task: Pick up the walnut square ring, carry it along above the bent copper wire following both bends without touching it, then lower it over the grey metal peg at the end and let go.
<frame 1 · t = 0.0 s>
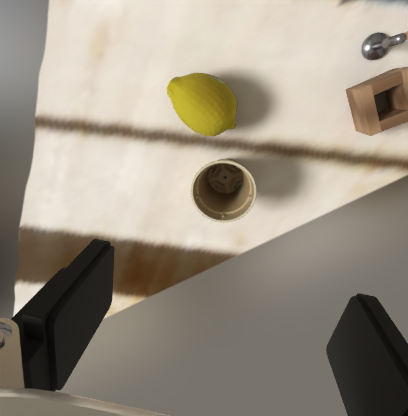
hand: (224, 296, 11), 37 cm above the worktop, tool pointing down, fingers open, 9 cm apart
ring: (373, 101, 41), on the worktop
lemon: (207, 102, 43), on the worktop
flower pot: (225, 175, 48), on the worktop
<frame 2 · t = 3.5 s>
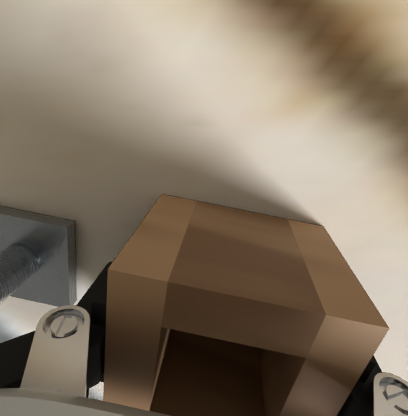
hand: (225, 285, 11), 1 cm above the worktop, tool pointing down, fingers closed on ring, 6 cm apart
ring: (225, 275, 12), on the worktop, touching gripper
peg stand: (29, 253, 13), on the worktop
when the fingers open (2 cm above the worktop, at t = 10.7 s): ring stays where it is, resting on peg stand.
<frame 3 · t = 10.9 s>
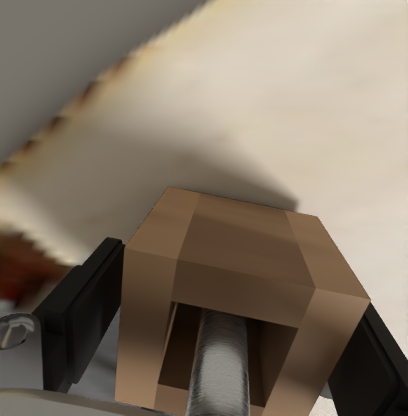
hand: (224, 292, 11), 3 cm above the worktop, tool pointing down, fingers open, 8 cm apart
ring: (226, 263, 13), point 1 cm above the worktop, touching peg stand
peg stand: (226, 255, 13), on the worktop
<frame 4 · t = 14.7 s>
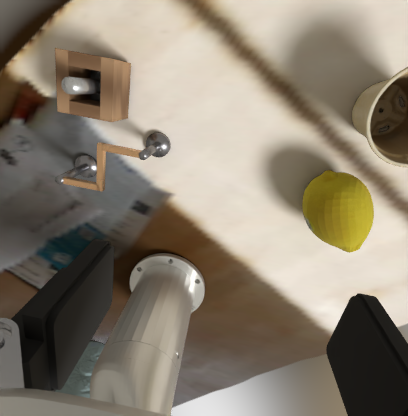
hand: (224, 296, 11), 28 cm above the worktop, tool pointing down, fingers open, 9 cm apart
buzz wire: (122, 151, 38), on the worktop
ring: (104, 87, 35), point 1 cm above the worktop, touching peg stand
peg stand: (106, 86, 35), on the worktop
lemon: (326, 198, 38), on the worktop
flower pot: (377, 110, 33), on the worktop
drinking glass: (98, 356, 56), on the worktop
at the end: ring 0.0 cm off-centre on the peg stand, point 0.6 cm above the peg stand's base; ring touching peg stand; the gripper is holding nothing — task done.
